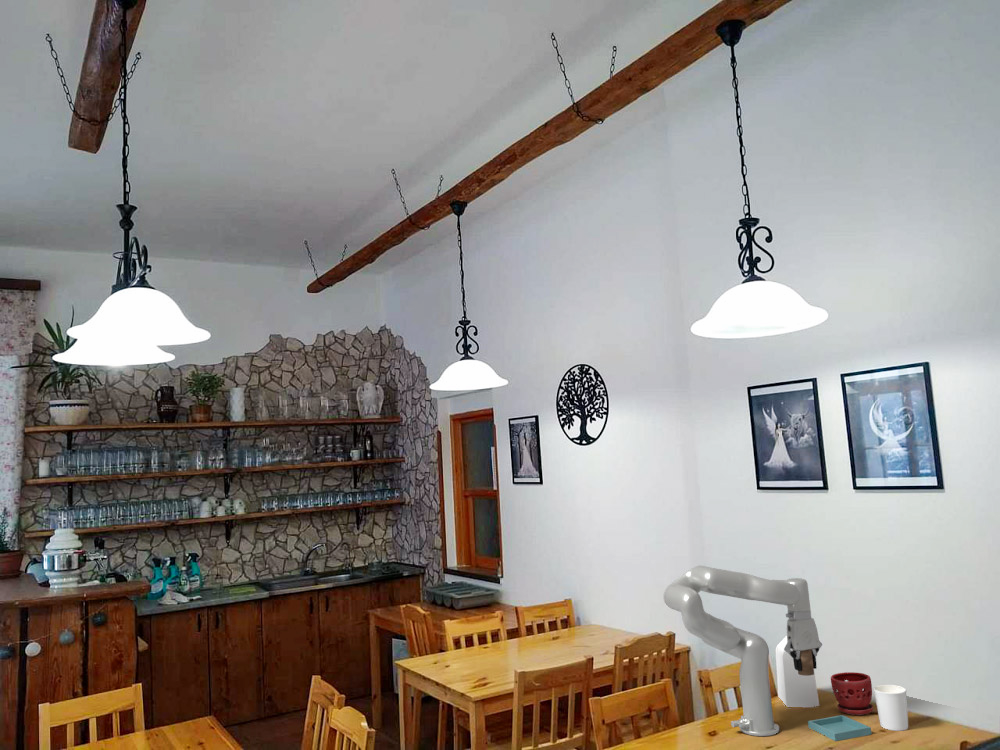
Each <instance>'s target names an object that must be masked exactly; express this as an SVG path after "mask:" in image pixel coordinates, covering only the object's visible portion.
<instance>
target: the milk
mask: <svg viewBox="0 0 1000 750" xmlns="http://www.w3.org/2000/svg"><path fill="white" fill-rule="evenodd" d="M786 644H787V634H786V636H785V637H783V639H782V640H781V641H779V643H777V645H776V647H775V662H776V663H775V665H776V679H777V696H778V697H779V698H780V699H781V700H782V701H783V703H784V704H785V705H786V706H787V707H803V708H817V707H816V706H820V701H819V693H818V688H817V681H816V676H815V675H816V673H814V675H810V676H804V675H799V674H798V670H795V667H794V660H793V658H792V657H791V656H790V655H789V654H788V653H787V652H786V651H785V650H784V648H785V646H786ZM790 650H791V651H792V649H790ZM779 698H778V699H779ZM780 699H779V700H780ZM783 703H782V704H783ZM784 704H783V705H784ZM785 705H784V706H785ZM814 706H815V707H814Z"/></svg>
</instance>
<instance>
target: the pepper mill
mask: <svg viewBox="0 0 1000 750" xmlns="http://www.w3.org/2000/svg"><path fill="white" fill-rule="evenodd" d="M799 659H801V664H802V671H798V674H799V675H804V676H810V675H814V674H815V669H814V667H813V658H812V650H811V649H809V650H804V651H800V657H799Z"/></svg>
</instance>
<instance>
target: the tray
mask: <svg viewBox="0 0 1000 750" xmlns="http://www.w3.org/2000/svg"><path fill="white" fill-rule="evenodd" d="M807 725H808V729H810V728H811V729H810V730H812V729H813V730H812V731H814V730H815V731H814V732H816V731H817V732H816V733H818V732H819V733H818V734H820V733H821V734H820V735H822V734H823V735H822V736H824V735H825V736H824V737H826V736H827V737H826V738H828V739H830V740H832V741H834V742H838V741H843V740H850V739H854V738H860V737H865V736H870V735H871V734H872V727H871V726H868V725H866V724H864V723H861V722H859V721H857V720H854V719H853V718H850V717H848V716H846V715H843V714H842V715H841V714H840V715H836V716H830V717H824V718H820V719H813V720H807ZM871 736H872V735H871Z"/></svg>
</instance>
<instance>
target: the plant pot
mask: <svg viewBox="0 0 1000 750" xmlns="http://www.w3.org/2000/svg"><path fill="white" fill-rule="evenodd" d="M830 685H831V689H832V692H833V694H834V695H833V696H834V698H835V700H836V701H837V703H838V704H837V708H838V710H839V711H840V712H842V713H844V714H845V715H849V716H852V715H853V716H864V715H867V714H870V713H872V711H873V710H874V705H873V704H871V702H872V699H873V685H872V679H871V676H870V675H869V674H866V673H863V672H862V673H861V672H854V671H853V672H848V671H847V672H838V673H834V674H832V675H831V676H830Z"/></svg>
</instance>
